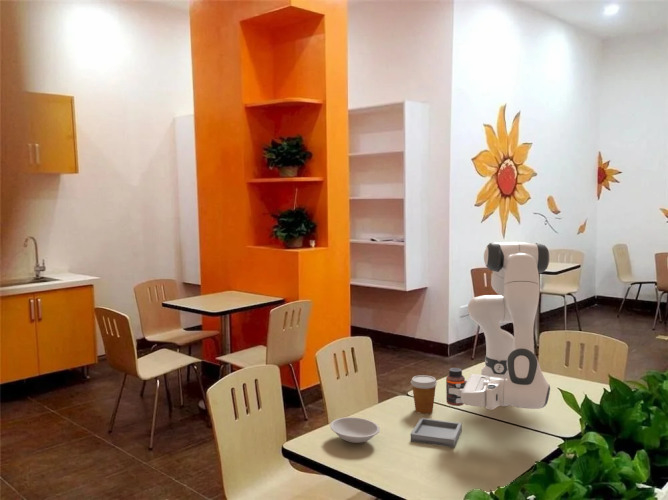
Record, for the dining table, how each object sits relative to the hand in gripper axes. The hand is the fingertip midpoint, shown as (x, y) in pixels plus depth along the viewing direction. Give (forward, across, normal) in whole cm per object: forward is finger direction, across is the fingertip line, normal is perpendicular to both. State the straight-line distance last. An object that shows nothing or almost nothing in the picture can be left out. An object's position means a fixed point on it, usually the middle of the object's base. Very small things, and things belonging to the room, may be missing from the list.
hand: (451, 386), depth 185 cm
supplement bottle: (-1, 0, +6) cm, 6 cm away
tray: (+5, +1, +17) cm, 17 cm away
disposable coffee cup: (+14, -19, +17) cm, 29 cm away
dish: (+29, +14, +17) cm, 36 cm away
